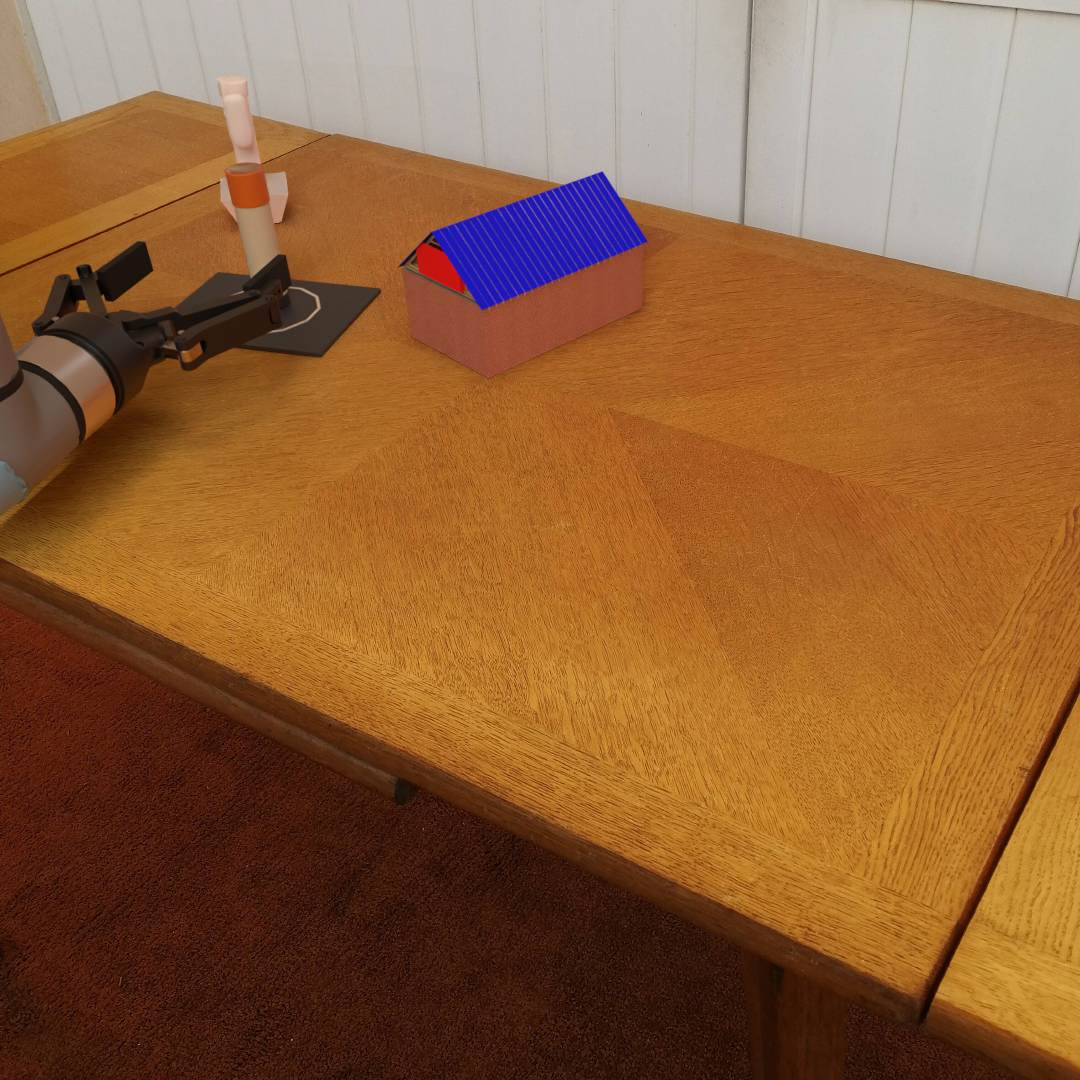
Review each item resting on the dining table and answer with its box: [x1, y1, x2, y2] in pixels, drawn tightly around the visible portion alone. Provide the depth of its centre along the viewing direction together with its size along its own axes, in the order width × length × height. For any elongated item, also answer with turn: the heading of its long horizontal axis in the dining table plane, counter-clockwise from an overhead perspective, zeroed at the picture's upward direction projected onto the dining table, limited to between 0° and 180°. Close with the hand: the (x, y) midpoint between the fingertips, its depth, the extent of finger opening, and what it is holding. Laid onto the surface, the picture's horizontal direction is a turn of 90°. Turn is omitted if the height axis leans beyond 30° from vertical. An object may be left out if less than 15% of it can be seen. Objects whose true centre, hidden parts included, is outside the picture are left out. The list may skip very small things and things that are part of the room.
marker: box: [224, 162, 290, 309], centre depth 105 cm, size 3×3×13 cm
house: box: [396, 170, 649, 379], centre depth 102 cm, size 12×20×12 cm, turn 134°
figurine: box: [216, 75, 289, 224], centre depth 122 cm, size 7×9×15 cm
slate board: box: [162, 271, 382, 358], centre depth 108 cm, size 18×14×1 cm
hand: (214, 262), depth 99 cm, fingers open, 13 cm apart
